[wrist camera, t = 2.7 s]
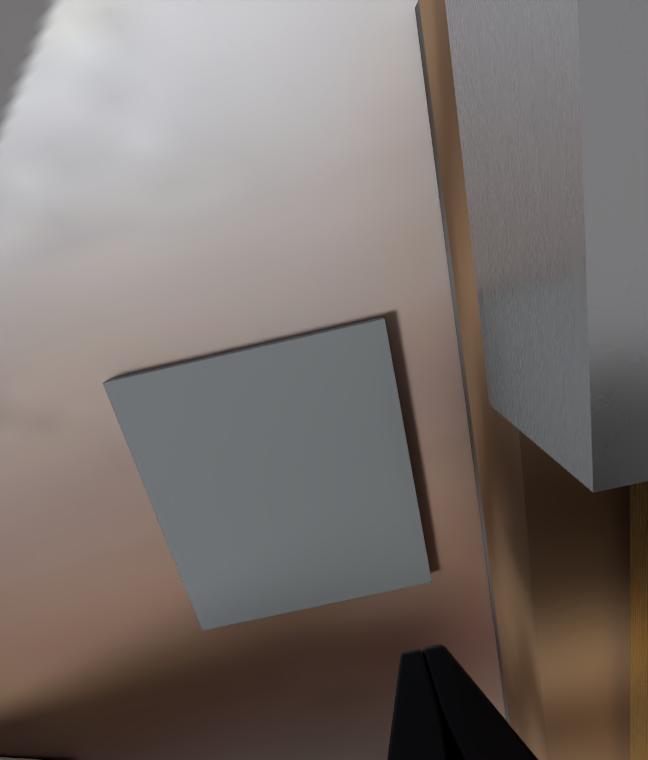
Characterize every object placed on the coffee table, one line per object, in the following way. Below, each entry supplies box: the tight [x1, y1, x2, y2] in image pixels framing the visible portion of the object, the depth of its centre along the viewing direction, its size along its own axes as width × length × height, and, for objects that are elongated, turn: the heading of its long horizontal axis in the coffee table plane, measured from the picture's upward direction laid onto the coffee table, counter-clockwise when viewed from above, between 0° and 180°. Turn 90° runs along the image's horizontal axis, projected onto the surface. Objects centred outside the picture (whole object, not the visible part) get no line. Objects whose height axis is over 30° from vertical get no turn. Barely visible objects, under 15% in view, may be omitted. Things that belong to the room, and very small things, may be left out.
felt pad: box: [103, 317, 432, 631], centre depth 12 cm, size 8×7×1 cm
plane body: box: [415, 0, 630, 760], centre depth 10 cm, size 21×6×3 cm, turn 13°
